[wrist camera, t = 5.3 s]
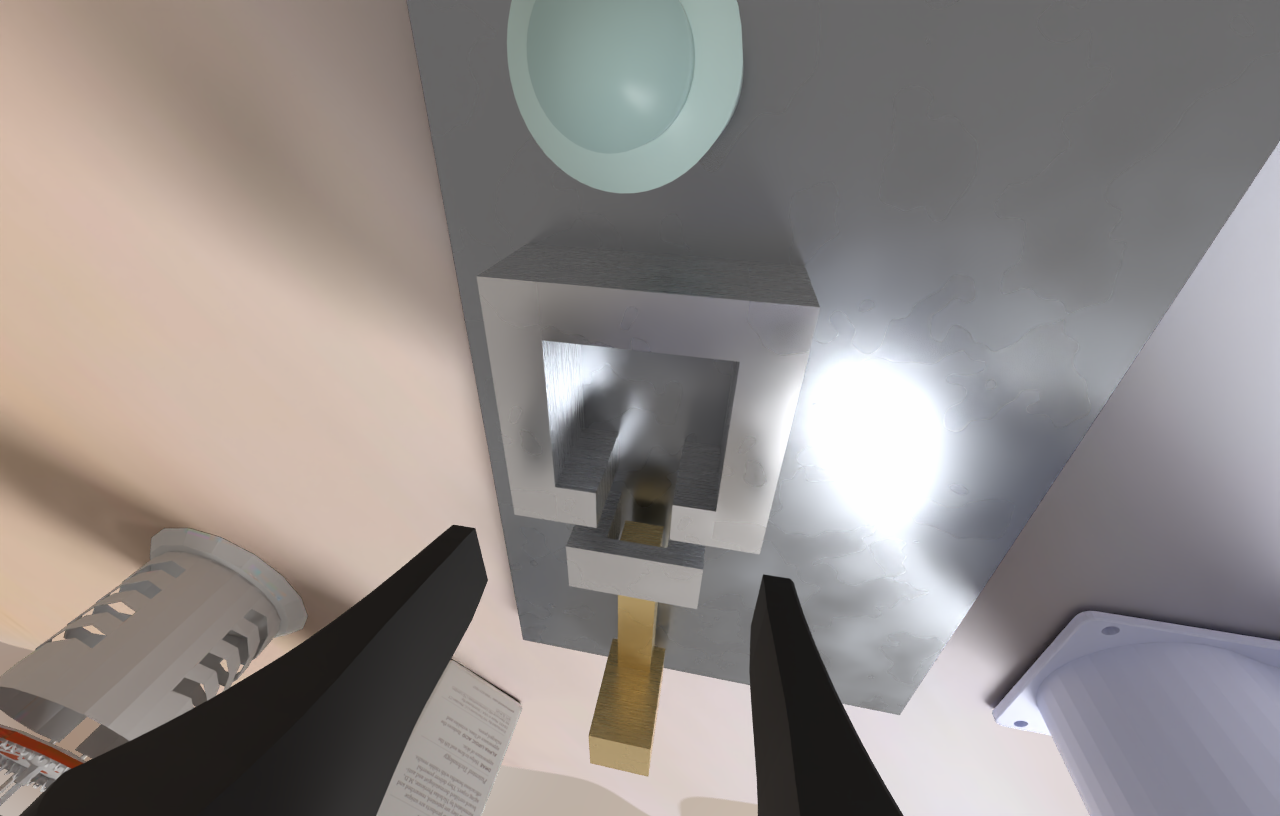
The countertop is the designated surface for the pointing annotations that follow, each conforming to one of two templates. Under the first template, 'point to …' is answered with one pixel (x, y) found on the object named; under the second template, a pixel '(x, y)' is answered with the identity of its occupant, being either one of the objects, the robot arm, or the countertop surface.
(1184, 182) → the dock
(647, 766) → the pin
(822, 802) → the robot arm
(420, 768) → the skincare box
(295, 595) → the french press
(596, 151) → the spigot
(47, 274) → the countertop surface
